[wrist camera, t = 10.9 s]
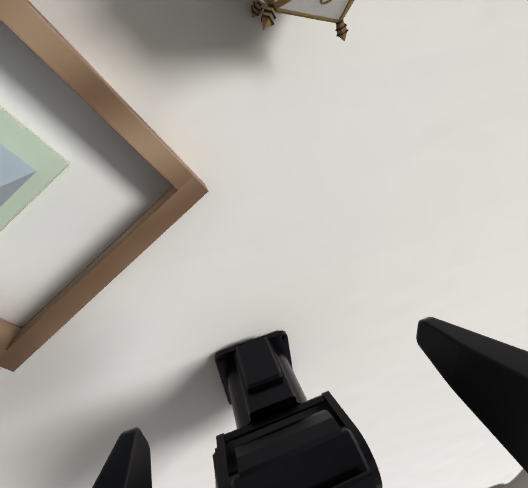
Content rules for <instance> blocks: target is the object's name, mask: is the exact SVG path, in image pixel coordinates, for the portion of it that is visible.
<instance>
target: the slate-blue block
mask: <svg viewBox="0 0 528 488" xmlns="http://www.w3.org/2000/svg"><path fill="white" fill-rule="evenodd" d="M35 172H36V170H35V169H34V168H32V167H31V166H30V165H28V164H27V163H26V162H24V161H23V160H22V159H20V158H19V157H18V156H17V155H15V154H14V153H13V152H11V151H10V150H9V149H7V148H6V147H5V146H3V145H2V144H1V143H0V207H1V206H2V205H3V204H4V203H5V202H6V201H7V200H8V199H9V198H10V197H11V196H12V195H13V194H14V193H15V192H16V191H17V190H18V189H19V188H20V187H21V186H22V185H23V184H24V183H25V182H26V181H27V180H28V179H29V178H30V177H31V176H32V175H33V174H34V173H35Z"/></svg>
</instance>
